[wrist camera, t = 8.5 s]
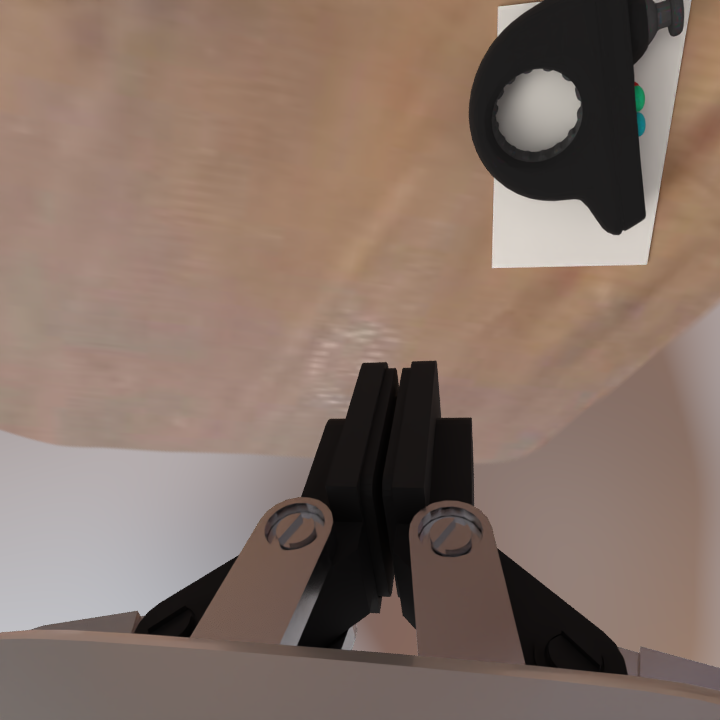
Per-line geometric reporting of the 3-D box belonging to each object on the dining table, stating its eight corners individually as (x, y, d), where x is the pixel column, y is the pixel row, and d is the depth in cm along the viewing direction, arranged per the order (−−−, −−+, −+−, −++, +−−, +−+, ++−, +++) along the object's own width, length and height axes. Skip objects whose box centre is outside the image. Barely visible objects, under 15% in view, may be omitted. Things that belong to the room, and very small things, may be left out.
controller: (454, 21, 30) (668, -60, 25) (502, 240, 35) (684, 202, 31) (441, 24, 26) (685, -69, 22) (495, 267, 31) (700, 227, 27)
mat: (498, 6, 29) (498, 6, 28) (692, -16, 27) (694, -17, 26) (491, 266, 35) (491, 268, 35) (645, 262, 34) (646, 264, 33)
